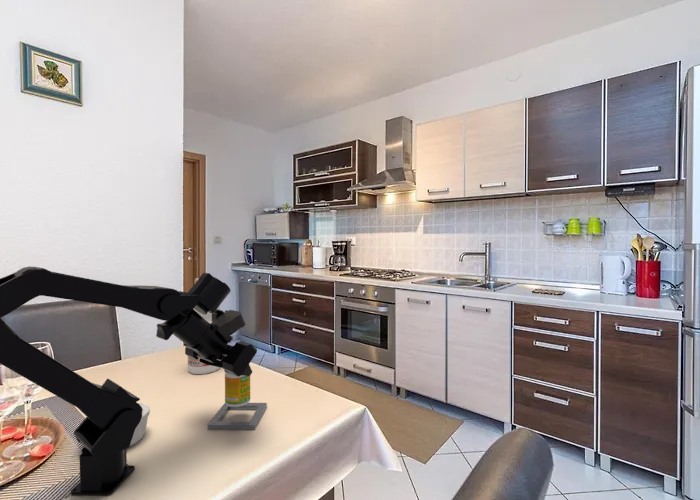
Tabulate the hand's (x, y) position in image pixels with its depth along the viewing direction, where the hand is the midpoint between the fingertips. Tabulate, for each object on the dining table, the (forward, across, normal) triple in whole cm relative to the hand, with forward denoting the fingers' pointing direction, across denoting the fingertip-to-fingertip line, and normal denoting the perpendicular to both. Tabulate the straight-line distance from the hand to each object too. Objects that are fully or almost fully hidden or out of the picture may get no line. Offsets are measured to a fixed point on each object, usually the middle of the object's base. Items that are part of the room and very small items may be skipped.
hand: (242, 371), depth 79 cm
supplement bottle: (+4, 0, +6) cm, 7 cm away
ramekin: (-7, +12, +22) cm, 26 cm away
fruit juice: (+15, +34, 0) cm, 37 cm away
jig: (+6, 0, +8) cm, 10 cm away
